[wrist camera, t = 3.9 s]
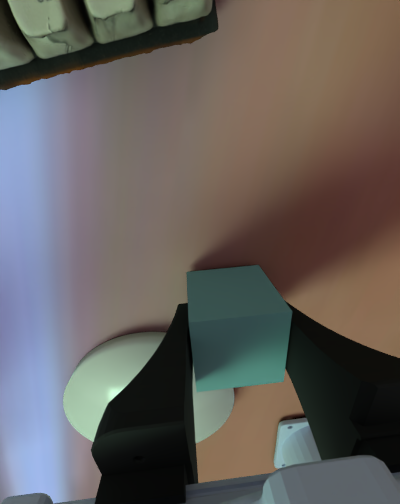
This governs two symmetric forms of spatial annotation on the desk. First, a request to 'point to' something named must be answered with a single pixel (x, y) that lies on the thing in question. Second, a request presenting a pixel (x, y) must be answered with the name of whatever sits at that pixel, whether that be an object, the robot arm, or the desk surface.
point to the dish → (120, 375)
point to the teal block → (236, 328)
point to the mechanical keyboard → (91, 33)
